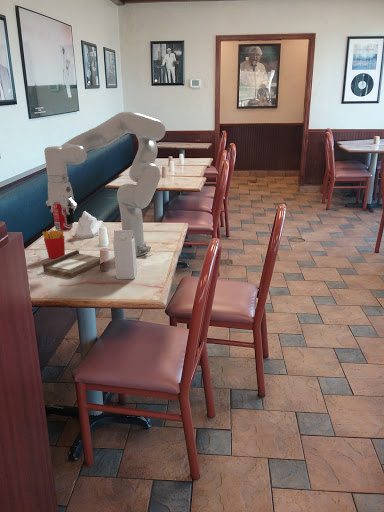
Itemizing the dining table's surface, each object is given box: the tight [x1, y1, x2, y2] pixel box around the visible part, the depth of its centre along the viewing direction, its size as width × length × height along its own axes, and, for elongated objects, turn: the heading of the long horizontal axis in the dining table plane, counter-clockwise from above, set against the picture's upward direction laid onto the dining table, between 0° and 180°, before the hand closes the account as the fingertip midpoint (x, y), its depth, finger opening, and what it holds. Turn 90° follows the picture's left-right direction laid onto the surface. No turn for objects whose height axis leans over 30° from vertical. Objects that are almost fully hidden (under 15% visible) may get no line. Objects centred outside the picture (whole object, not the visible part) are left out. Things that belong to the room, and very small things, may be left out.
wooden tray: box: [42, 249, 101, 279], centre depth 190 cm, size 16×20×4 cm
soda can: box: [53, 202, 74, 233], centre depth 181 cm, size 7×7×12 cm
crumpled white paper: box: [74, 210, 104, 240], centre depth 234 cm, size 12×15×14 cm
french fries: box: [42, 229, 66, 260], centre depth 201 cm, size 9×4×13 cm, turn 102°
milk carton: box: [112, 229, 138, 280], centre depth 175 cm, size 7×7×19 cm
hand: (63, 222), depth 182 cm, fingers closed on soda can, 7 cm apart
